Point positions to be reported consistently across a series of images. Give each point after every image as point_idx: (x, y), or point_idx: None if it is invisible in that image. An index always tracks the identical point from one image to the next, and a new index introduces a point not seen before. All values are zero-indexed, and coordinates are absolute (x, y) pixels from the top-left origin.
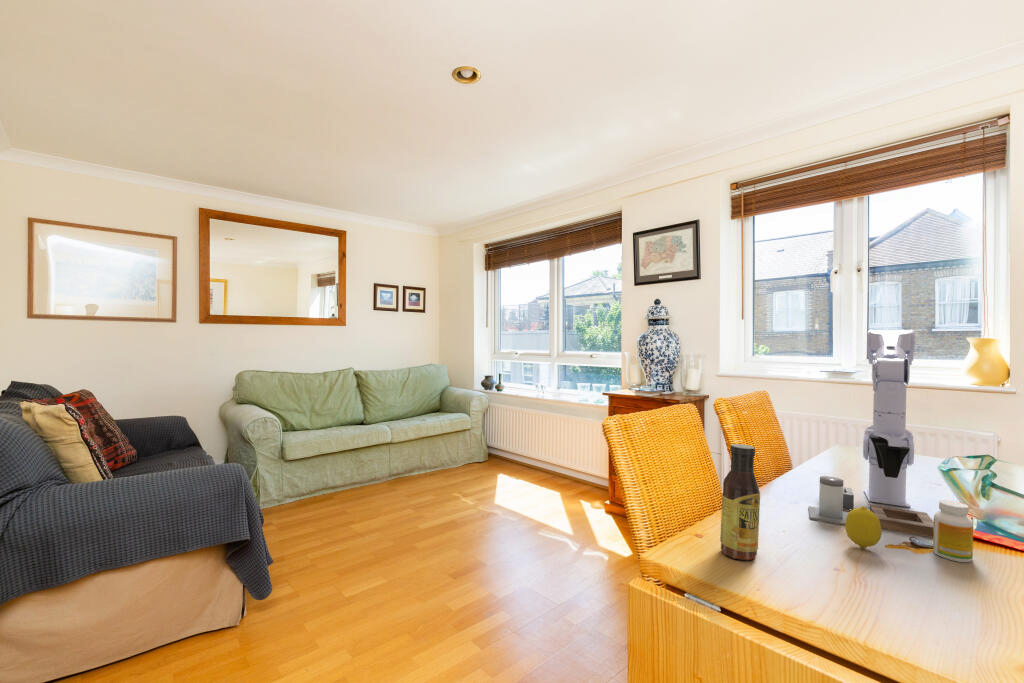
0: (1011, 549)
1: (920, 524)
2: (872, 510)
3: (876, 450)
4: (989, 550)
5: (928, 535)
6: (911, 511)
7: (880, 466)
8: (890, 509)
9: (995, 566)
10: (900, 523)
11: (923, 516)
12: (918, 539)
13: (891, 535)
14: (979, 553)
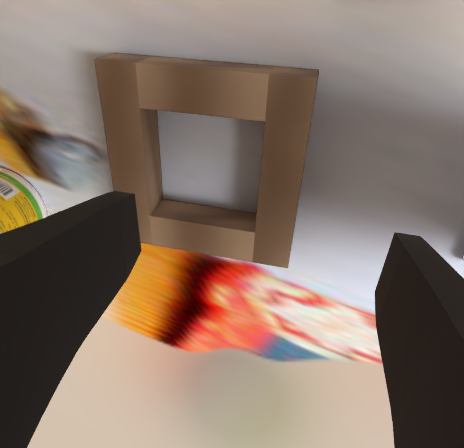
0: (160, 337)
1: None
2: (221, 69)
3: (454, 343)
4: (121, 295)
5: None
6: (277, 225)
7: (394, 248)
8: (267, 154)
9: None
10: (108, 140)
11: (230, 242)
12: (87, 163)
13: (67, 88)
14: None
